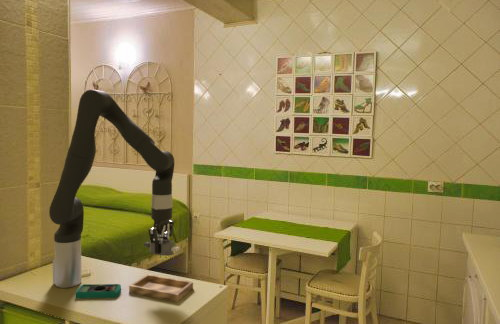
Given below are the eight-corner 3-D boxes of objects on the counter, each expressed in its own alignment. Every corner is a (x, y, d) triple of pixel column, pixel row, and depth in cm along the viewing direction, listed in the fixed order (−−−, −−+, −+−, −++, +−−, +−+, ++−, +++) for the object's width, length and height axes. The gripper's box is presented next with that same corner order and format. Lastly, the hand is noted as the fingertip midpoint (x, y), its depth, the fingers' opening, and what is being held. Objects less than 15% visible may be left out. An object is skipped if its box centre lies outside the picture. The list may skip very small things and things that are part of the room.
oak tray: (129, 292, 145) (129, 285, 144) (147, 280, 156) (147, 274, 156) (177, 302, 138) (177, 294, 138) (193, 288, 150) (193, 282, 150)
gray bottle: (141, 251, 146) (141, 240, 145) (148, 248, 150) (148, 237, 149) (174, 257, 141) (174, 245, 141) (180, 253, 145) (180, 241, 145)
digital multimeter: (118, 299, 140) (118, 291, 140) (74, 299, 139) (74, 291, 138) (122, 290, 147) (122, 282, 147) (81, 291, 146) (81, 283, 146)
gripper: (163, 201, 151) (163, 244, 153) (141, 208, 138) (141, 256, 140) (180, 203, 149) (180, 247, 151) (160, 210, 136) (159, 259, 137)
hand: (161, 251), depth 145 cm, fingers closed on gray bottle, 4 cm apart
